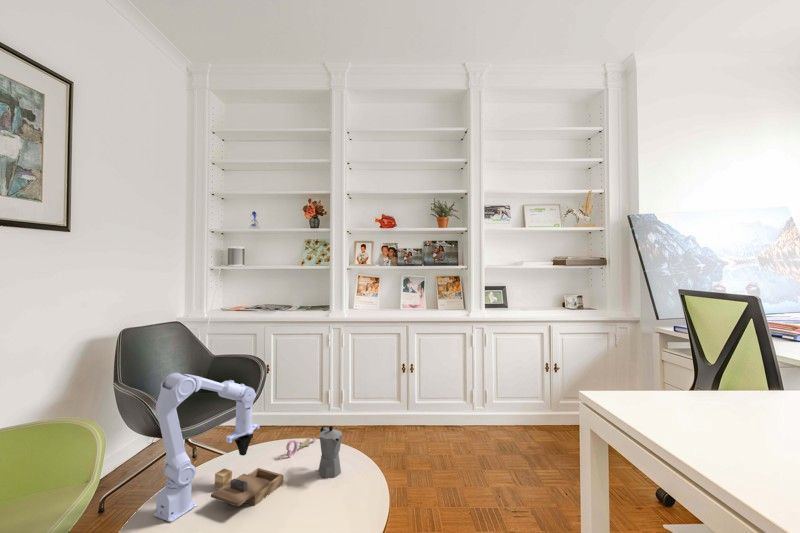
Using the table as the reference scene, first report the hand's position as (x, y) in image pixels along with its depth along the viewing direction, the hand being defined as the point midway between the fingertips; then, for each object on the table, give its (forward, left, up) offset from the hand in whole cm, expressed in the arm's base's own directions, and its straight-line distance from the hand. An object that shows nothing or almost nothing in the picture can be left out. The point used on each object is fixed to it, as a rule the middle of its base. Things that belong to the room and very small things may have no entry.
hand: (242, 454), depth 140 cm
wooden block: (-6, +3, -10) cm, 12 cm away
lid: (-10, -10, -6) cm, 15 cm away
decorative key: (+30, -5, -10) cm, 32 cm away
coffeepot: (+19, -26, -10) cm, 34 cm away
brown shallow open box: (-3, -10, -9) cm, 14 cm away
